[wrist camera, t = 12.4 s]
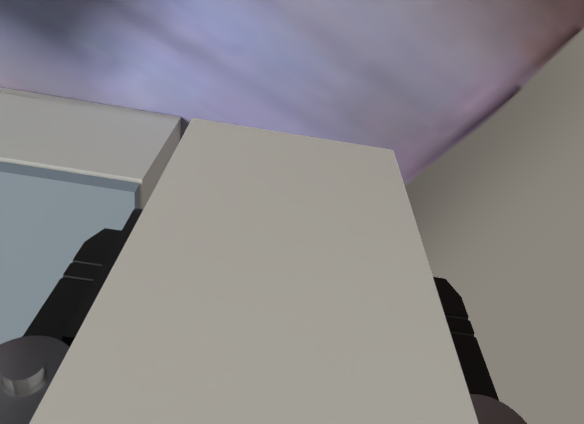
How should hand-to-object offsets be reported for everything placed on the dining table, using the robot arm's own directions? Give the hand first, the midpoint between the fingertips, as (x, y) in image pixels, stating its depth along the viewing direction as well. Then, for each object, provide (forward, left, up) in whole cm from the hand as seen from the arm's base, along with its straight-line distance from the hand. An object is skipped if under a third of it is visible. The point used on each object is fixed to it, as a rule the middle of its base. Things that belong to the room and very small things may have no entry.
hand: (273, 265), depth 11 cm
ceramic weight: (0, 0, -2) cm, 2 cm away
